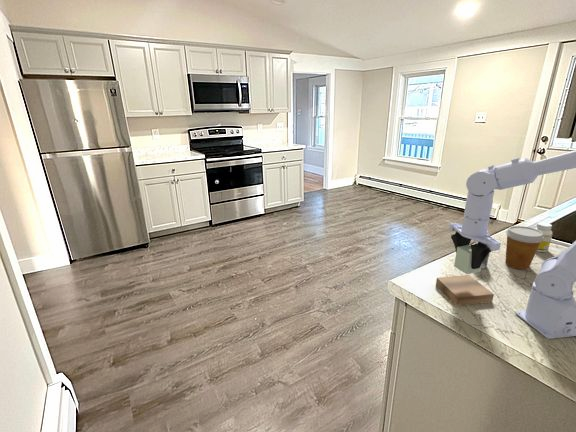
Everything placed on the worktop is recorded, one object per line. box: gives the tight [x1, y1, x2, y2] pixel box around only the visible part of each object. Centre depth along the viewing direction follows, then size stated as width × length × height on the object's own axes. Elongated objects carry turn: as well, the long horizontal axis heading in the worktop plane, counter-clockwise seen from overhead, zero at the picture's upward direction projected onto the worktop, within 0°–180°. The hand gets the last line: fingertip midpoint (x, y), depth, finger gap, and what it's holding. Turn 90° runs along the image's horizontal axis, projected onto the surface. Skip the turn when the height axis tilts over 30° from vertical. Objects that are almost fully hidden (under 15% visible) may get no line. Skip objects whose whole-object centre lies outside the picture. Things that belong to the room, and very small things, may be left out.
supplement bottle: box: [534, 221, 553, 253], centre depth 107 cm, size 5×5×10 cm
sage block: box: [453, 244, 483, 275], centre depth 82 cm, size 4×4×6 cm
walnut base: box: [435, 274, 495, 306], centre depth 85 cm, size 10×10×2 cm
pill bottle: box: [474, 241, 490, 269], centre depth 99 cm, size 5×5×8 cm
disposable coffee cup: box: [505, 225, 544, 270], centre depth 97 cm, size 10×10×12 cm
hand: (467, 263), depth 82 cm, fingers closed on sage block, 4 cm apart
